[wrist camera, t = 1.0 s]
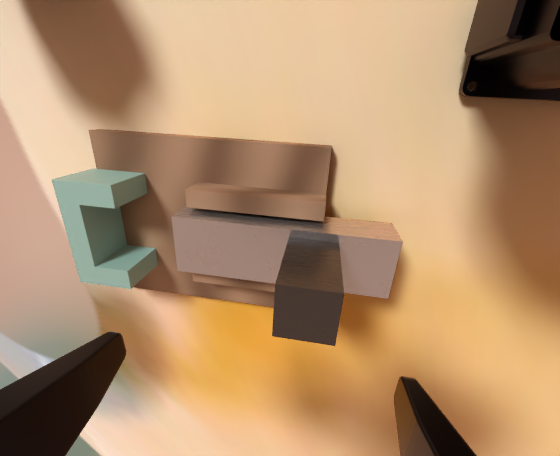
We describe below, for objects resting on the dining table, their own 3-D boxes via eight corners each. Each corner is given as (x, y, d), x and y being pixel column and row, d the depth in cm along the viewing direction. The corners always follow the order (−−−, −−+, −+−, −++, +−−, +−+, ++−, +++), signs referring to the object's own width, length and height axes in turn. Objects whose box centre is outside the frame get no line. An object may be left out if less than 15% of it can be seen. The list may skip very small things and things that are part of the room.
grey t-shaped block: (391, 223, 18) (433, 294, 11) (380, 274, 20) (410, 366, 13) (191, 202, 20) (116, 254, 13) (194, 251, 22) (130, 321, 14)
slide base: (331, 145, 18) (332, 152, 16) (312, 304, 23) (310, 330, 21) (99, 129, 20) (63, 132, 18) (128, 279, 25) (105, 299, 23)
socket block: (144, 173, 20) (110, 185, 17) (158, 264, 23) (130, 289, 20) (94, 168, 20) (51, 179, 17) (113, 258, 23) (80, 281, 20)
